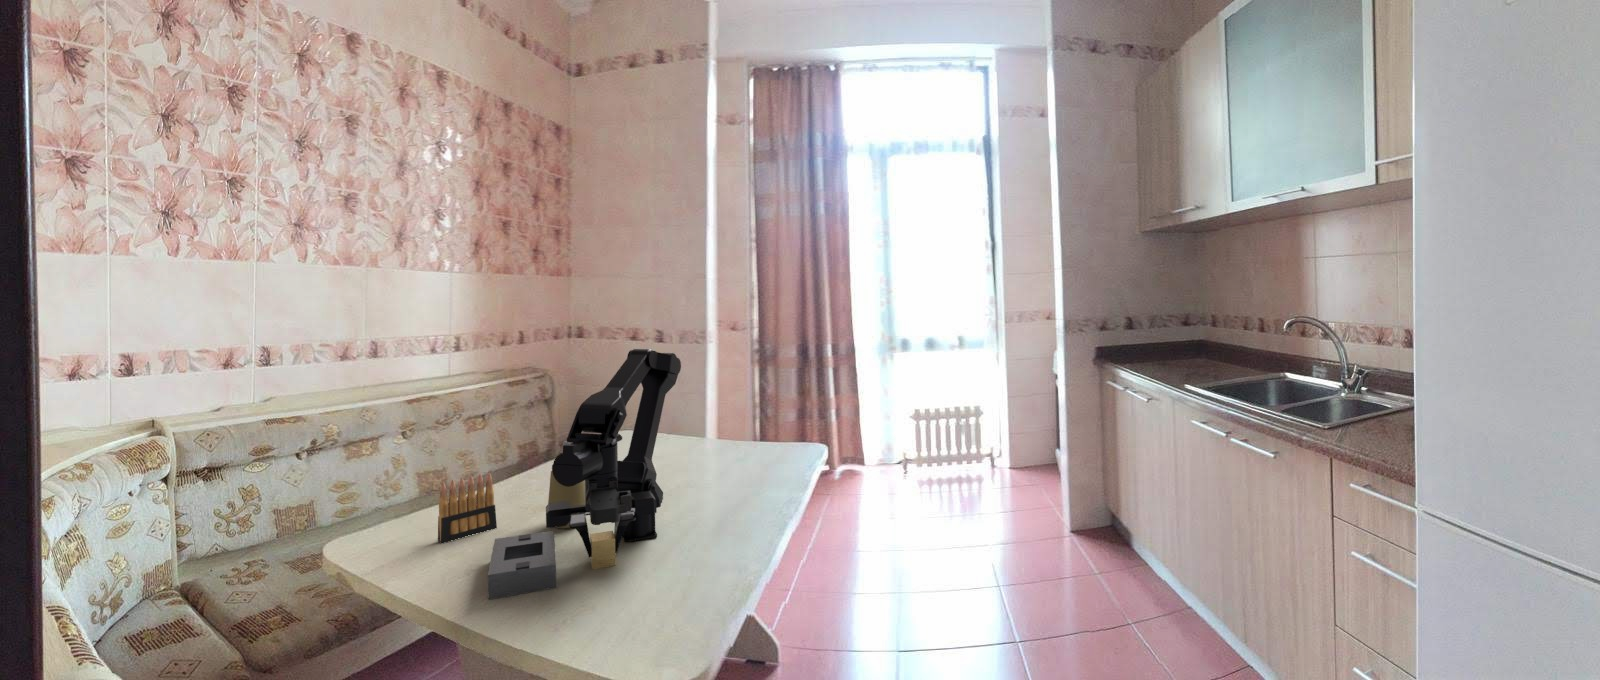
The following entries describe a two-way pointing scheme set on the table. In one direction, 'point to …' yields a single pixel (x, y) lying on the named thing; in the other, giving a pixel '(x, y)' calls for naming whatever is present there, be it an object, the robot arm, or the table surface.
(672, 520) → the table surface
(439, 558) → the table surface
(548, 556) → the grey socket block
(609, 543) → the tan wooden block
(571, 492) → the squeeze bottle
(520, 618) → the table surface
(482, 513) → the ammunition clip
